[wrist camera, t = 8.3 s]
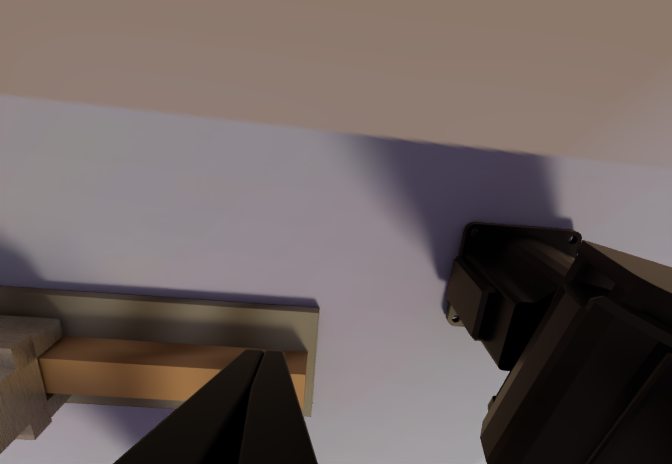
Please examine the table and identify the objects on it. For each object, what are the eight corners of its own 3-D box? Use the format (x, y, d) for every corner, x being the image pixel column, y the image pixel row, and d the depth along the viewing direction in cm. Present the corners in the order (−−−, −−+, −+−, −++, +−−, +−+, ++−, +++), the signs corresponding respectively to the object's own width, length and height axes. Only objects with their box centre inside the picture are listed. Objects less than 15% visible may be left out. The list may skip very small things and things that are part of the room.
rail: (319, 307, 21) (315, 363, 16) (311, 409, 23) (306, 483, 19) (-53, 282, 20) (-171, 333, 15) (-19, 390, 23) (-112, 462, 18)
